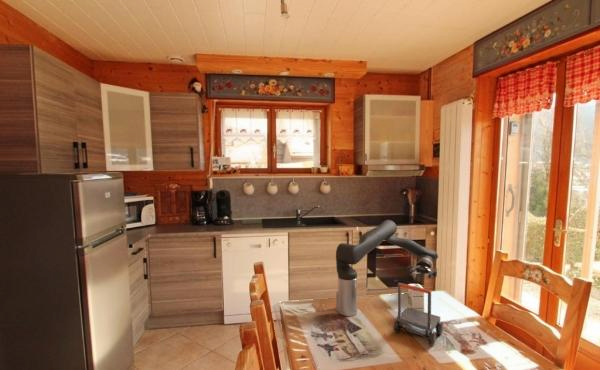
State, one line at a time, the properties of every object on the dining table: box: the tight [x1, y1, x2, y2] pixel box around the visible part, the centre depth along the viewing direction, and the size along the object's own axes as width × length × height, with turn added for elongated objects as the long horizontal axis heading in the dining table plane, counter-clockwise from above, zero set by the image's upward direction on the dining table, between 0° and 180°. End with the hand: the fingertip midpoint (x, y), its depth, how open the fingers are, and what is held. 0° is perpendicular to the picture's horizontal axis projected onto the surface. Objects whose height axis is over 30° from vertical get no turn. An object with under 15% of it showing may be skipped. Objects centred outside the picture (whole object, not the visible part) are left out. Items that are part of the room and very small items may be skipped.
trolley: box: [393, 282, 444, 346], centre depth 125 cm, size 15×15×21 cm
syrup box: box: [407, 283, 425, 312], centre depth 139 cm, size 6×6×14 cm
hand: (420, 275), depth 149 cm, fingers open, 8 cm apart
